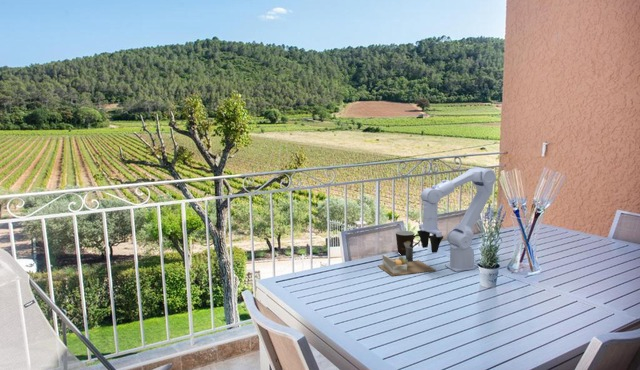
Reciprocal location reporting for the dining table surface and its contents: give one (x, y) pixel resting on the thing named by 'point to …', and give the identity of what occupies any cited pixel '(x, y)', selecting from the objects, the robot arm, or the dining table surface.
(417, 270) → the brown piece
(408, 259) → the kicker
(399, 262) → the ball
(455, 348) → the dining table surface
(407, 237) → the coffee mug
